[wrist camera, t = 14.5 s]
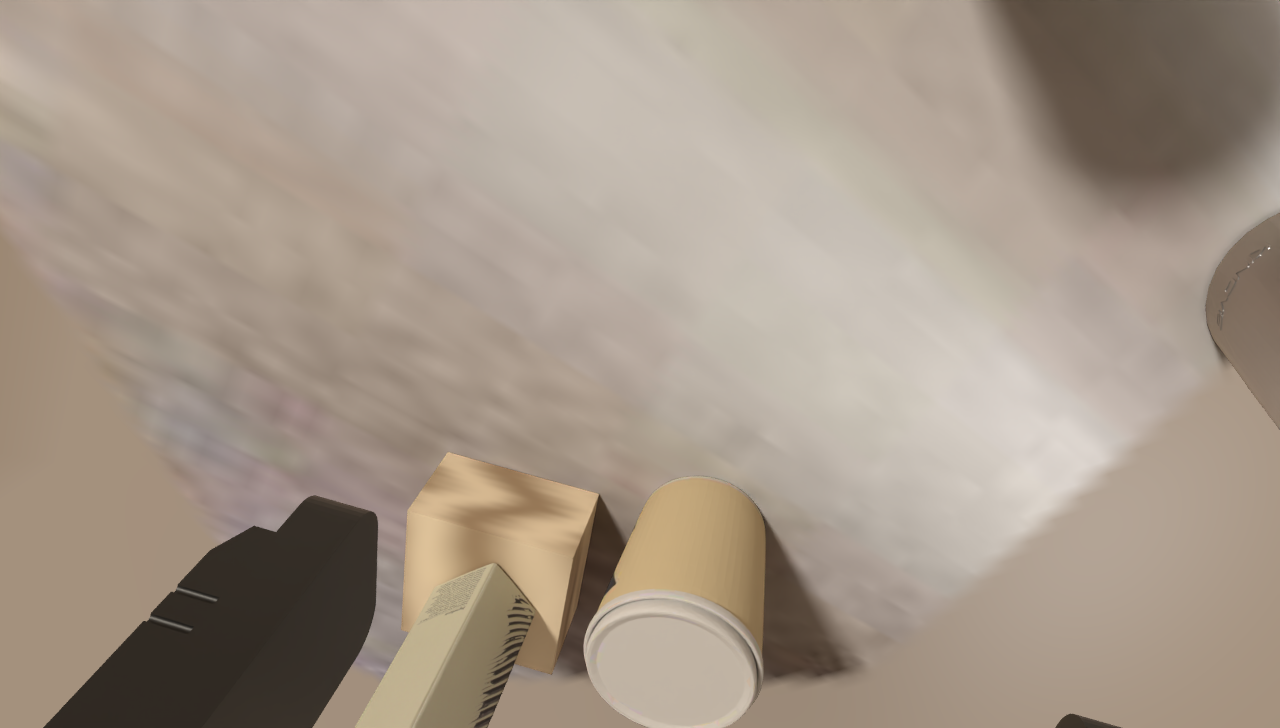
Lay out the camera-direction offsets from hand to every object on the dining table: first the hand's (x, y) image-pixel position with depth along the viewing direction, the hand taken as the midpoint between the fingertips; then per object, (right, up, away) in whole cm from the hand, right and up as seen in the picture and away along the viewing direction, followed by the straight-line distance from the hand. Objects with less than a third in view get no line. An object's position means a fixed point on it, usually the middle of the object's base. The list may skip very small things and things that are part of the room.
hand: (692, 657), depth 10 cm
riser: (-9, -8, +49) cm, 50 cm away
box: (-10, -10, +44) cm, 46 cm away
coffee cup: (+3, -7, +45) cm, 46 cm away
